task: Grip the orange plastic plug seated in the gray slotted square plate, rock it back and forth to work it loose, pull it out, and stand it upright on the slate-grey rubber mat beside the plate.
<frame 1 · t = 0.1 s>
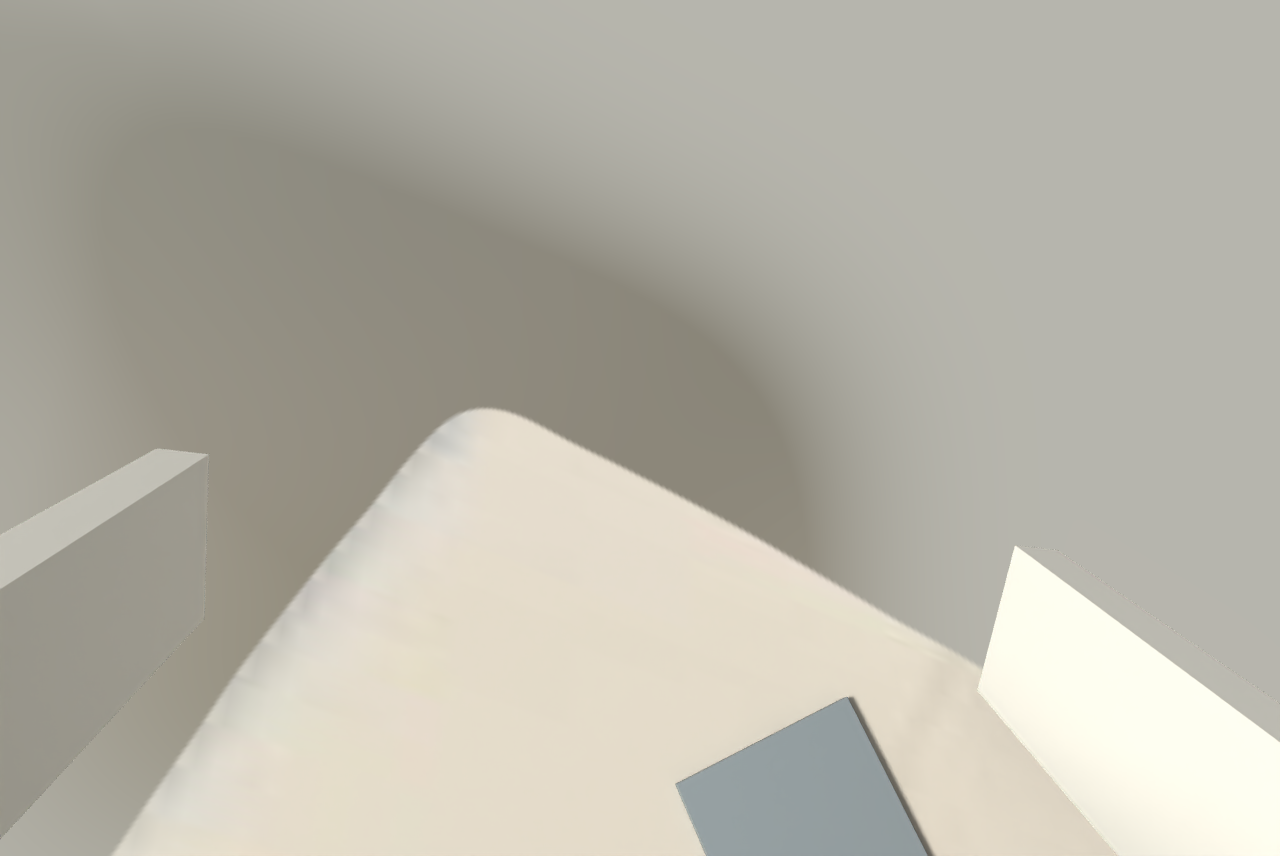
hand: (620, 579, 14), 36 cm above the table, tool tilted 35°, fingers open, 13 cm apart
rubber mat: (808, 837, 46), on the table
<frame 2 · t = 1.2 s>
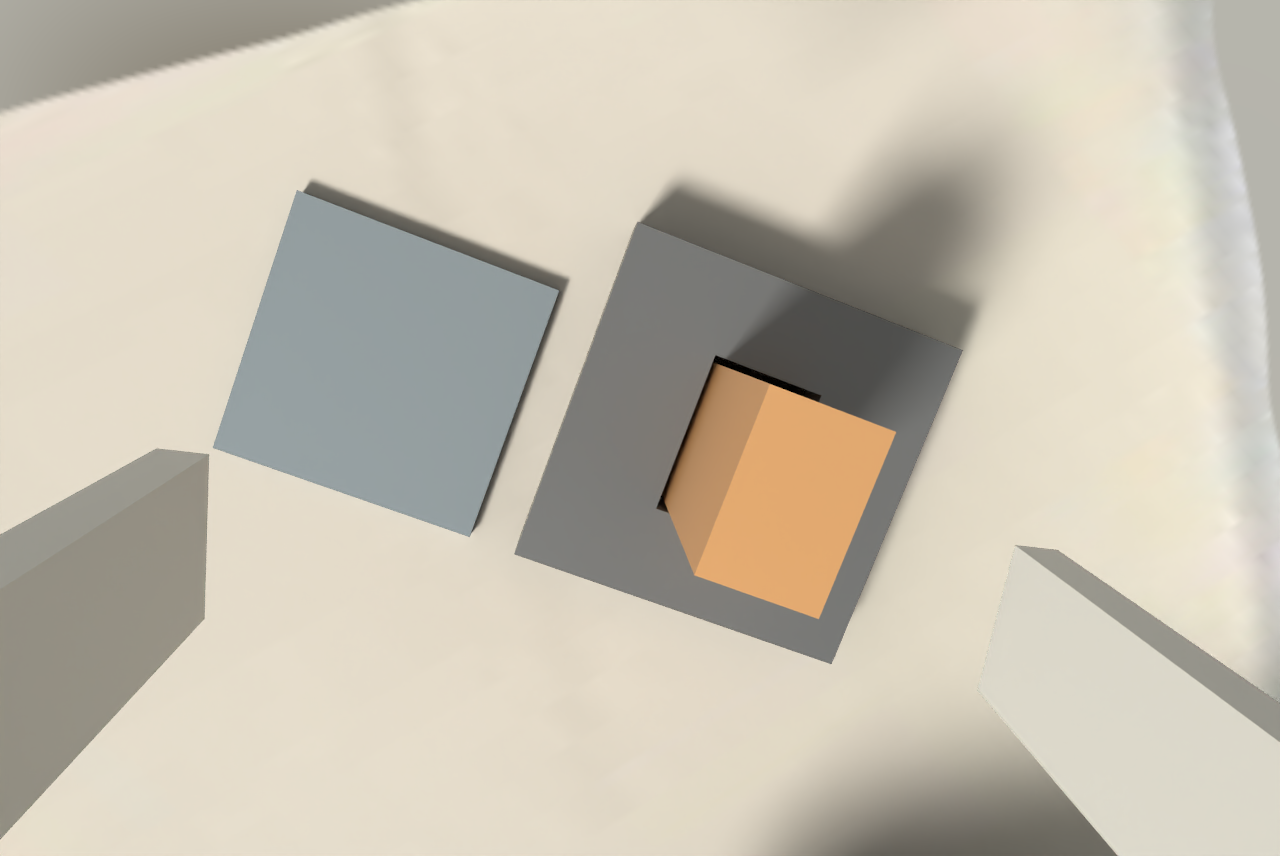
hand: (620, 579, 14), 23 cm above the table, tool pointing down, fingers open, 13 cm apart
rubber mat: (389, 368, 35), on the table
gray slotted square plate: (728, 442, 37), on the table
plug: (755, 467, 31), in the gray slotted square plate
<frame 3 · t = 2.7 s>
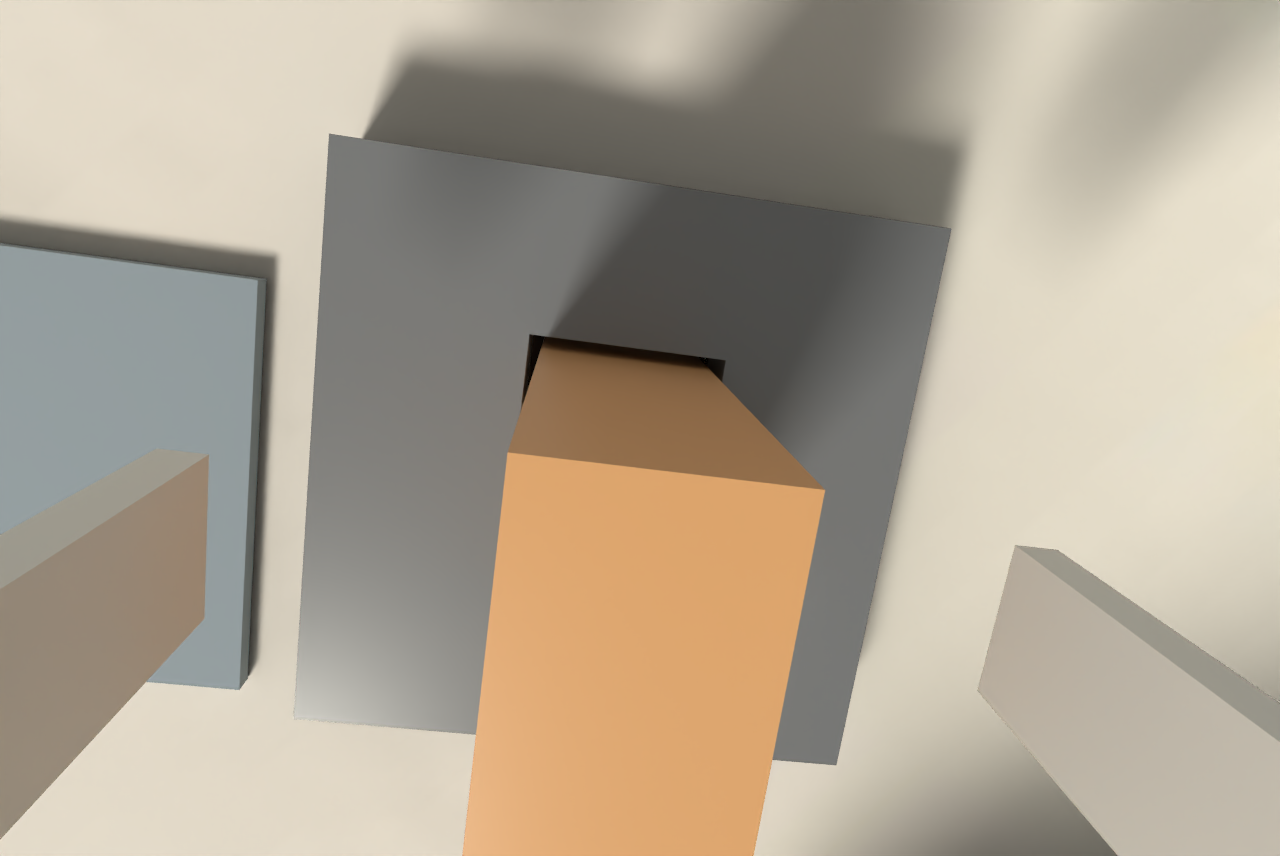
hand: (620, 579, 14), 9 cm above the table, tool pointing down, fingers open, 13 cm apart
rubber mat: (34, 464, 22), on the table
gray slotted square plate: (606, 456, 23), on the table
plug: (616, 532, 17), in the gray slotted square plate
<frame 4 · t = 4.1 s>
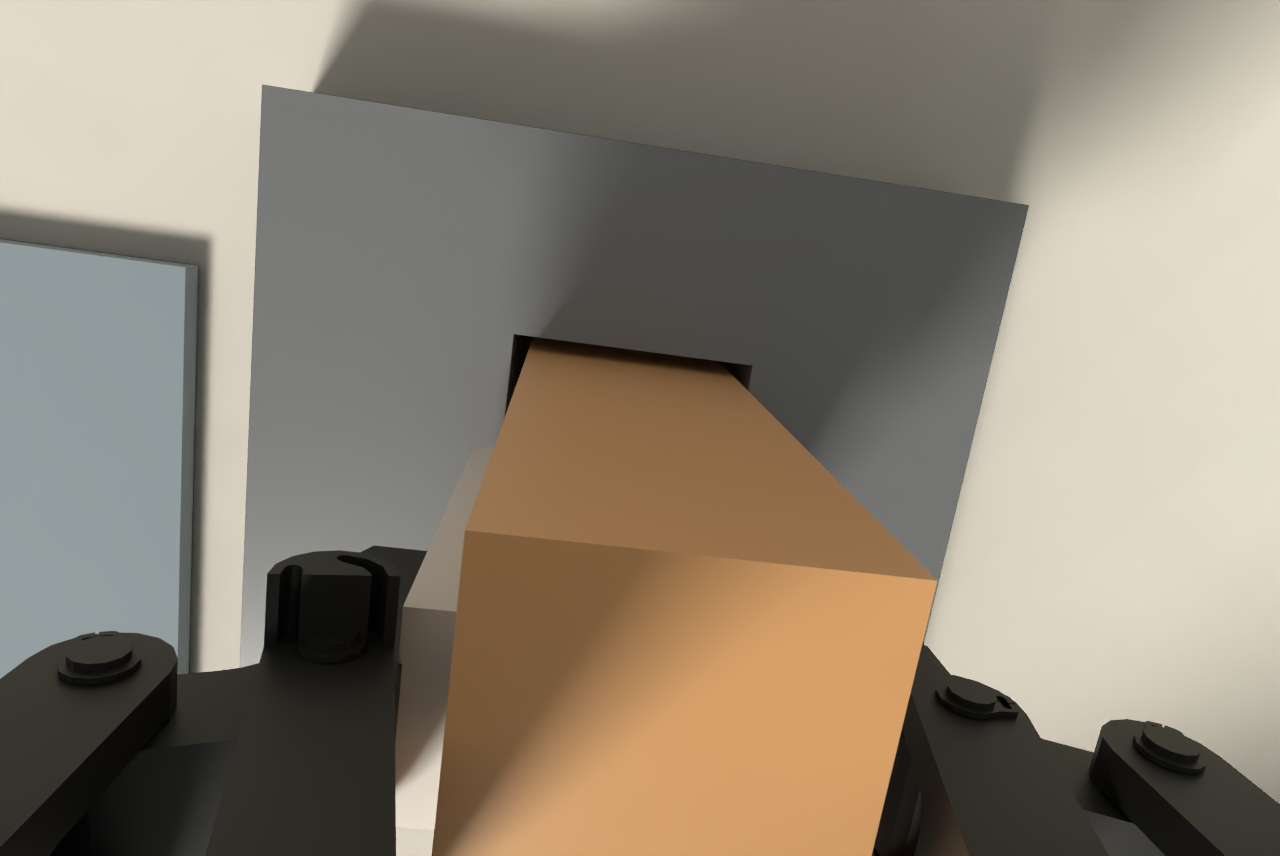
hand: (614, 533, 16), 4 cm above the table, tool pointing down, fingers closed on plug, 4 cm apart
gray slotted square plate: (607, 476, 19), on the table
plug: (621, 586, 14), in the gray slotted square plate, touching gripper
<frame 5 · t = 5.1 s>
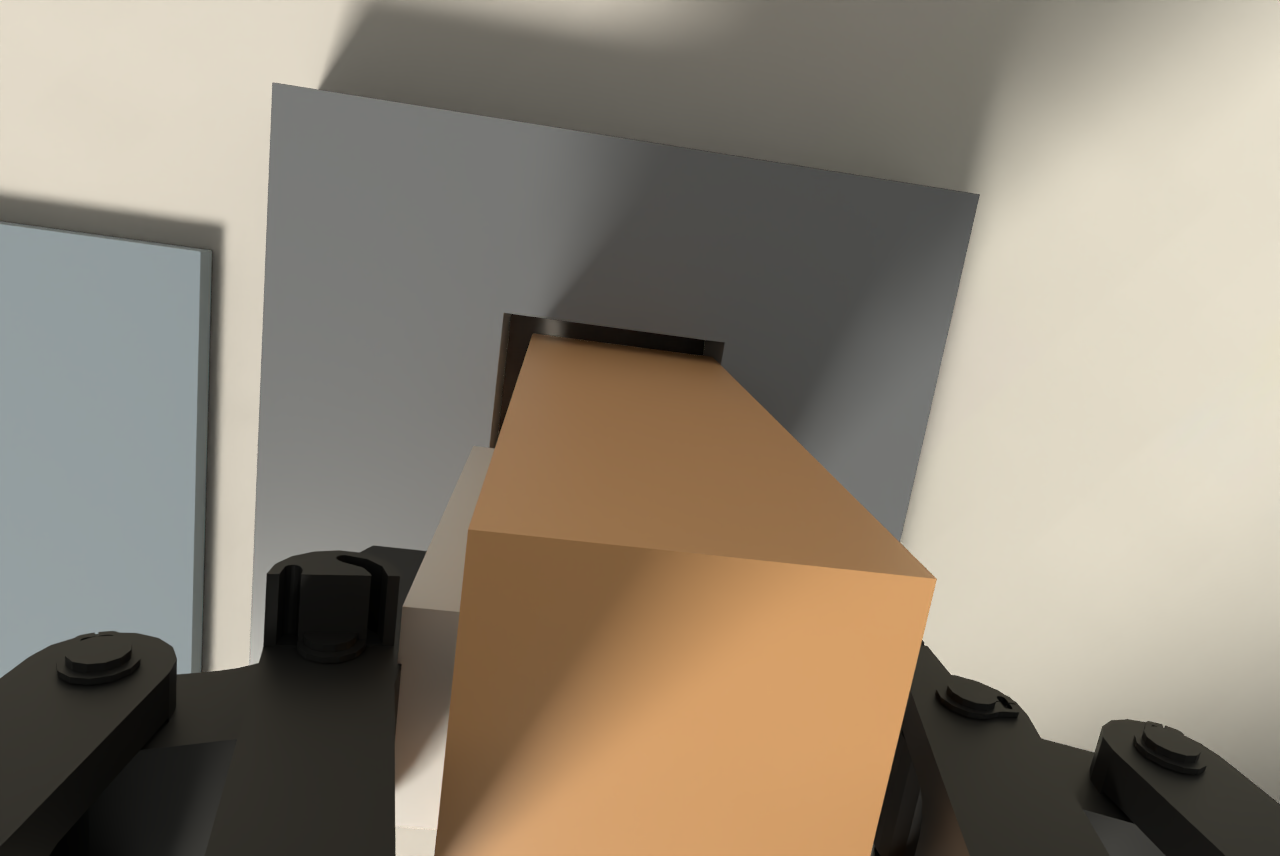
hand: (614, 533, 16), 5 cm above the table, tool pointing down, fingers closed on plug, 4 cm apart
gray slotted square plate: (592, 448, 21), on the table
plug: (620, 585, 14), point 7 cm above the table, touching gripper
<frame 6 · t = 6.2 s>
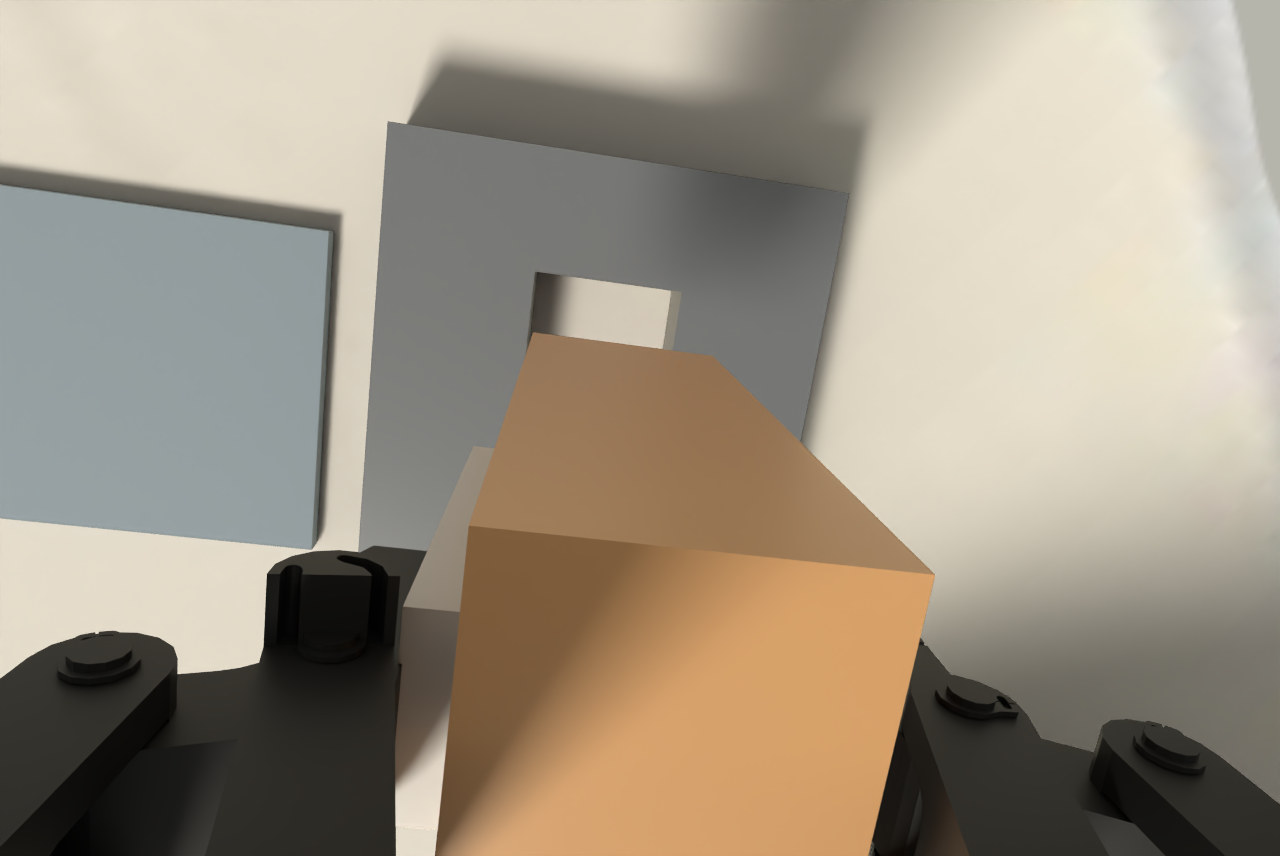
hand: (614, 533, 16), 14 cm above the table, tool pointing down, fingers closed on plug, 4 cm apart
rubber mat: (156, 373, 29), on the table
gray slotted square plate: (593, 370, 30), on the table
plug: (620, 582, 14), point 17 cm above the table, touching gripper
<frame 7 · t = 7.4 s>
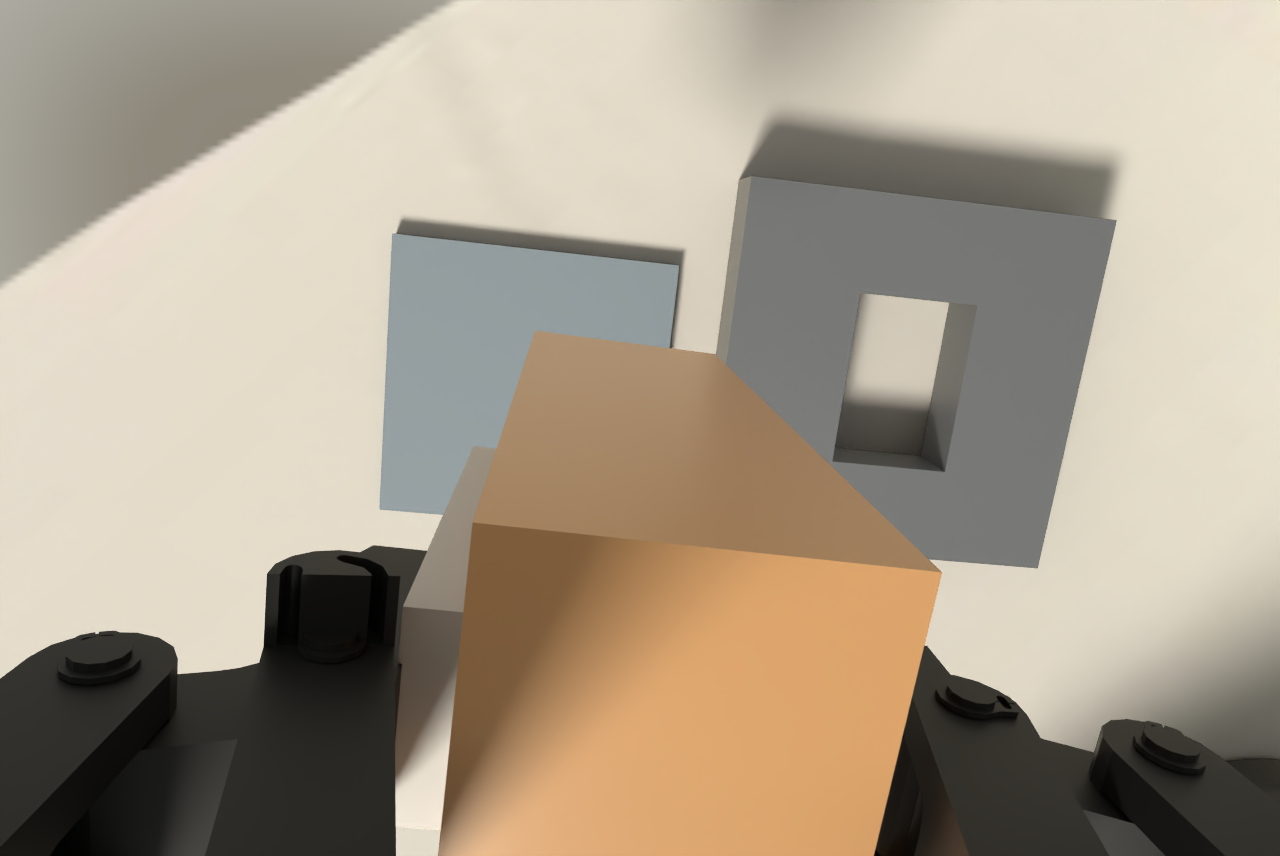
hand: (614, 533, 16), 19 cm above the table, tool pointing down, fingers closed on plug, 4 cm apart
rubber mat: (527, 387, 34), on the table
gray slotted square plate: (881, 374, 35), on the table
plug: (623, 581, 14), point 22 cm above the table, touching gripper
when the fingers open (6 cm above the table, at t = 10.7 s): plug drops 1 cm, resting on rubber mat.
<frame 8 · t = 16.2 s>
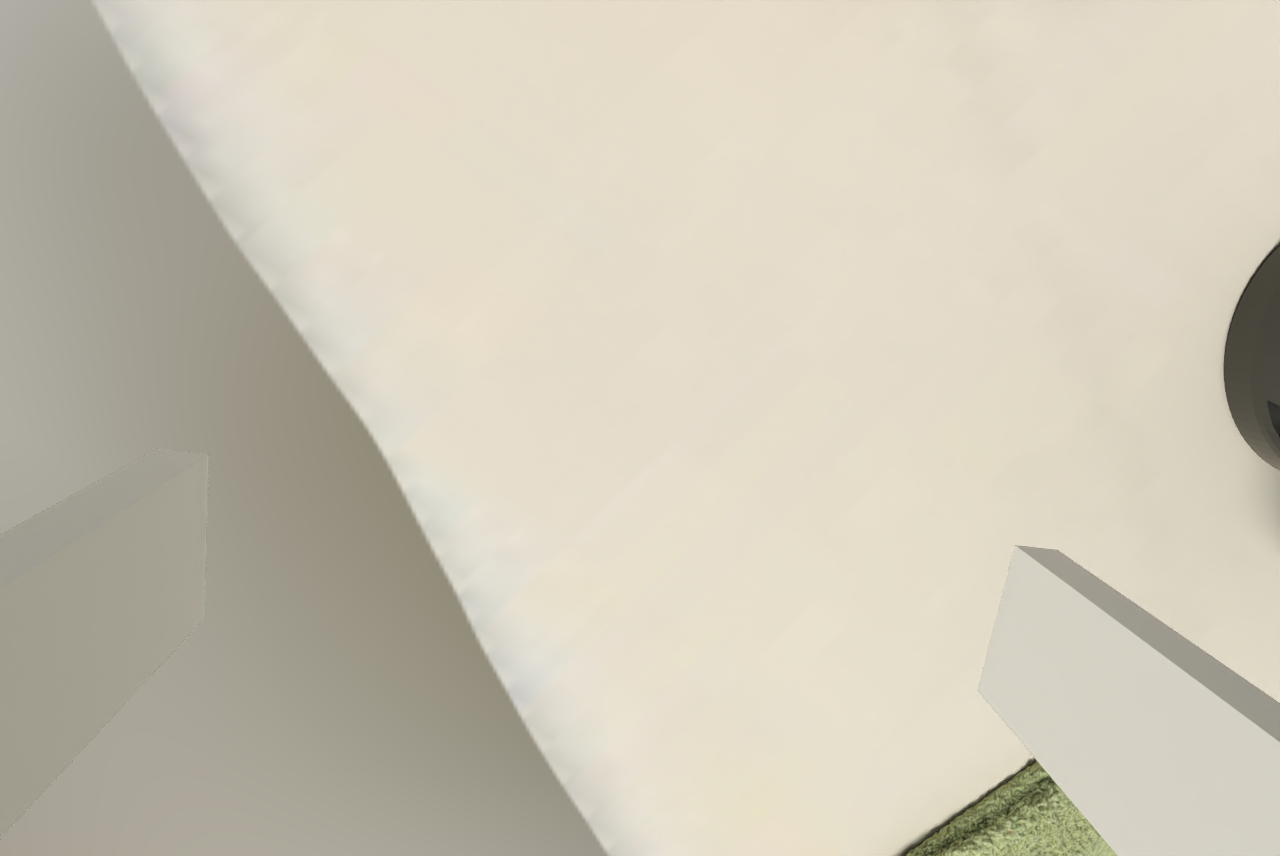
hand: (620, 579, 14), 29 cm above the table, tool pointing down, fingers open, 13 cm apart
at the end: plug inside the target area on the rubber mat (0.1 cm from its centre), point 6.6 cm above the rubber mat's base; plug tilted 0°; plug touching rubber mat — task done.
